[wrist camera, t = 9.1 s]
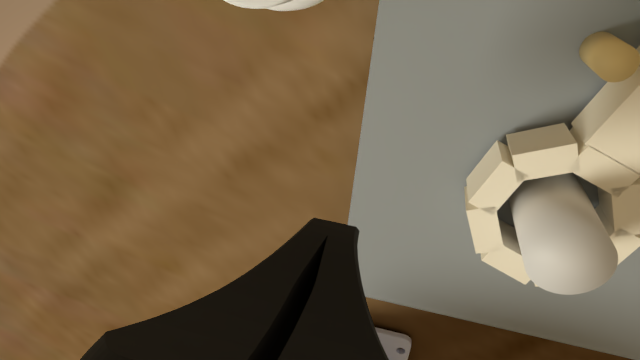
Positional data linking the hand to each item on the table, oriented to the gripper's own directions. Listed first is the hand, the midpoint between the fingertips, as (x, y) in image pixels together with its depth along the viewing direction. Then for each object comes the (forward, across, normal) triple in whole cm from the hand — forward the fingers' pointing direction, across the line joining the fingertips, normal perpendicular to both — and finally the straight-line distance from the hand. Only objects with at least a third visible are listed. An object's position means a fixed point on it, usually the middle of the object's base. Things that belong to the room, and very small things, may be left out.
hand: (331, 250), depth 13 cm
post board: (+9, -8, +1) cm, 12 cm away
